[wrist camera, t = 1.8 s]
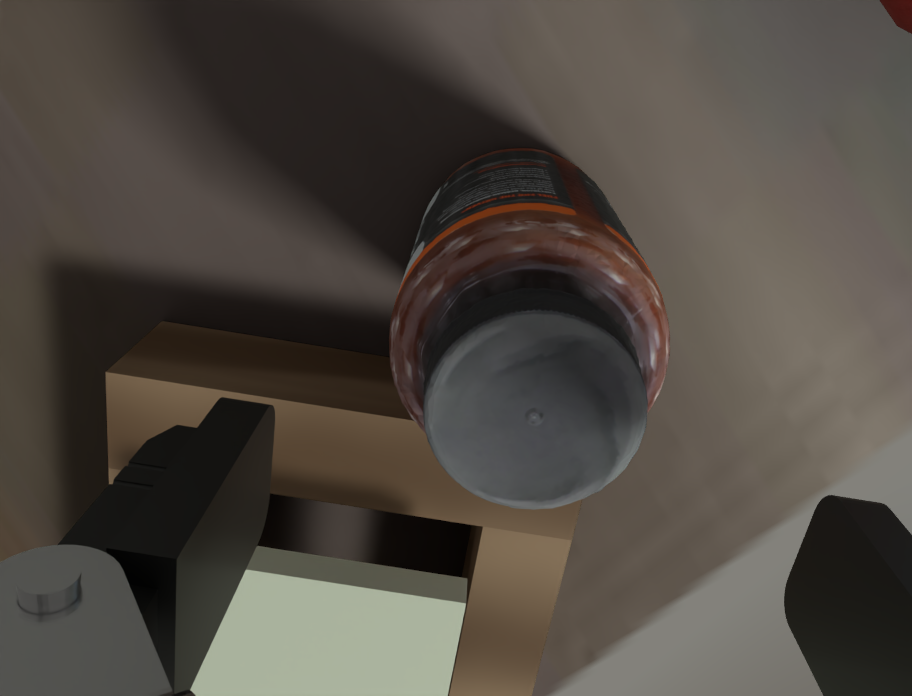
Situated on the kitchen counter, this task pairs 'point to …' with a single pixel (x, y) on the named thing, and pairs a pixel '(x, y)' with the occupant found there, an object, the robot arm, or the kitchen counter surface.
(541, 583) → the wooden tray
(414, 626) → the plate
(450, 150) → the kitchen counter surface
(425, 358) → the supplement bottle
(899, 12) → the pomegranate
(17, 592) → the robot arm
